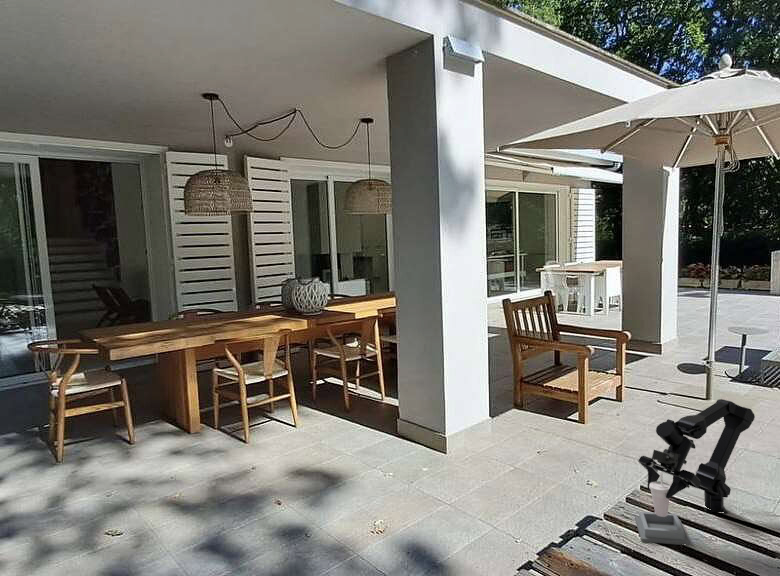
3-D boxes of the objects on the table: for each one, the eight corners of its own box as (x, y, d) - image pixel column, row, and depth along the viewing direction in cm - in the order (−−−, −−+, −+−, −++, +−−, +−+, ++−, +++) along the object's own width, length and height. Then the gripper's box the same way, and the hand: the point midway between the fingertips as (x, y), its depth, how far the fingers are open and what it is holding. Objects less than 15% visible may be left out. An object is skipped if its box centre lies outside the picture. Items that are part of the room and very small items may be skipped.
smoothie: (670, 520, 167) (668, 478, 166) (648, 515, 171) (646, 474, 170) (674, 511, 172) (672, 470, 171) (652, 507, 176) (650, 467, 175)
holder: (634, 518, 181) (634, 509, 181) (680, 522, 177) (679, 512, 177) (641, 541, 168) (641, 531, 168) (690, 545, 164) (690, 534, 163)
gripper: (640, 432, 180) (620, 472, 176) (693, 449, 163) (672, 493, 159) (656, 448, 184) (637, 488, 180) (709, 466, 168) (689, 510, 164)
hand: (657, 494), depth 171 cm, fingers closed on smoothie, 6 cm apart
